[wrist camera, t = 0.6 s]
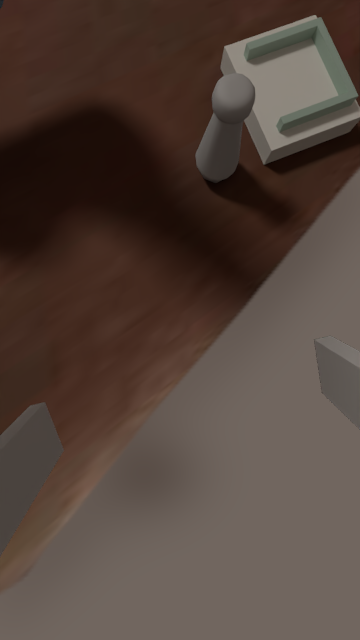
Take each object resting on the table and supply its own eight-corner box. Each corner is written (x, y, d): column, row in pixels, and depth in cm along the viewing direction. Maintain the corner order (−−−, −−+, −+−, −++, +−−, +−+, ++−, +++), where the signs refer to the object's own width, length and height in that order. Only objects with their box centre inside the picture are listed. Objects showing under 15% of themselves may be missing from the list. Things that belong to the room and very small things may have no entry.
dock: (220, 68, 41) (226, 34, 37) (305, 37, 42) (321, 2, 38) (263, 164, 40) (275, 142, 36) (349, 132, 41) (371, 106, 37)
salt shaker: (200, 193, 40) (216, 121, 27) (188, 156, 40) (198, 67, 27) (239, 182, 40) (273, 107, 27) (227, 145, 40) (255, 53, 27)
